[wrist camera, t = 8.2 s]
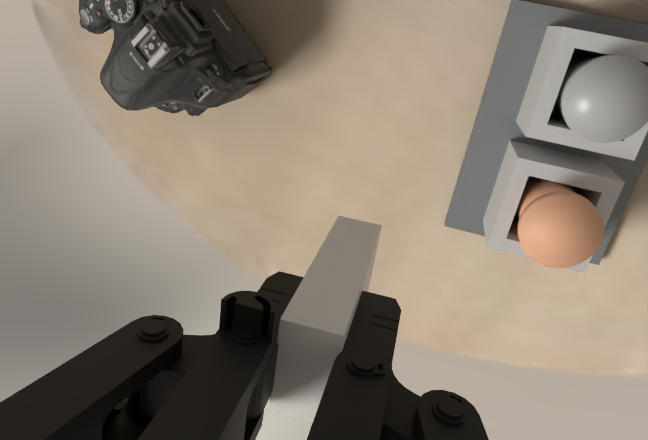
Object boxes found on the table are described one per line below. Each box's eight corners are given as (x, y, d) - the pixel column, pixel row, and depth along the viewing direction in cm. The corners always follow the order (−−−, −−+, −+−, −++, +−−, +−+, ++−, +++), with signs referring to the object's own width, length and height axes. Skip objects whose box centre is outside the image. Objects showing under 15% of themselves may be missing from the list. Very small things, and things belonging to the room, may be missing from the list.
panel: (511, -1, 35) (523, -5, 29) (697, 34, 33) (745, 37, 28) (444, 222, 42) (443, 252, 36) (596, 260, 40) (619, 298, 35)
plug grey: (559, 42, 34) (581, 47, 28) (635, 57, 33) (674, 65, 27) (534, 114, 35) (551, 132, 30) (606, 129, 35) (636, 151, 29)
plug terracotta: (520, 160, 36) (534, 186, 30) (590, 176, 35) (617, 206, 30) (499, 221, 38) (508, 256, 32) (565, 237, 37) (586, 276, 32)
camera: (112, 52, 43) (22, 61, 34) (149, -68, 39) (57, -94, 30) (247, 133, 43) (193, 163, 34) (299, 21, 39) (253, 22, 30)
